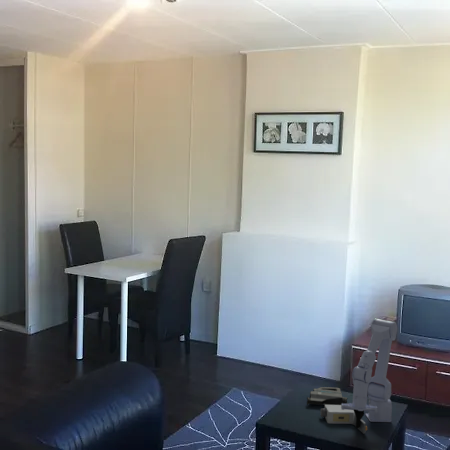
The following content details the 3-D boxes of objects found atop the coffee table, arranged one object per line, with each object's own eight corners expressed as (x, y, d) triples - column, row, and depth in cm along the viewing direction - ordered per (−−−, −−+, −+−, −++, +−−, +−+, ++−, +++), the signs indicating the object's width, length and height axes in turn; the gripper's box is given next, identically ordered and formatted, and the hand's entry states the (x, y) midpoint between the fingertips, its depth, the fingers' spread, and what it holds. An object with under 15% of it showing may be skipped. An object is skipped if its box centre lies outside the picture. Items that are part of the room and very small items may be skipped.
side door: (352, 423, 259) (352, 413, 259) (355, 423, 259) (356, 413, 259) (363, 433, 249) (363, 423, 249) (366, 433, 249) (367, 423, 249)
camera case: (350, 416, 268) (351, 405, 267) (355, 424, 259) (356, 412, 259) (319, 415, 267) (320, 404, 266) (323, 423, 258) (324, 412, 258)
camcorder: (350, 407, 278) (351, 396, 278) (307, 408, 275) (308, 397, 274) (338, 394, 294) (339, 384, 294) (297, 395, 291) (298, 384, 290)
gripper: (343, 397, 247) (341, 429, 249) (379, 400, 246) (376, 432, 248) (341, 391, 254) (339, 422, 256) (376, 394, 253) (374, 425, 255)
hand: (357, 427), depth 252 cm, fingers closed, pressing on side door
